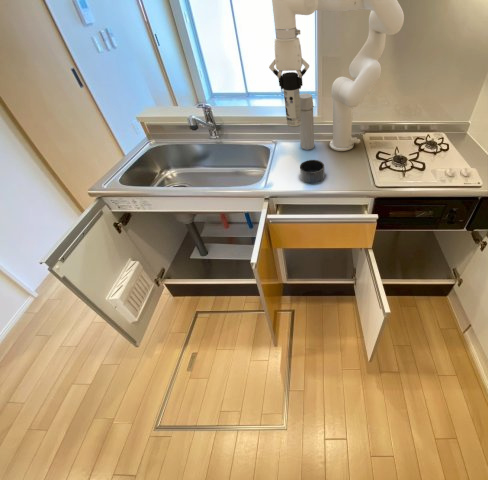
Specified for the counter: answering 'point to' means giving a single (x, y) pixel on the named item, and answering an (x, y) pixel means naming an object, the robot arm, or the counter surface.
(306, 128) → the water bottle
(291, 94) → the spray can
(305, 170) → the can holder
